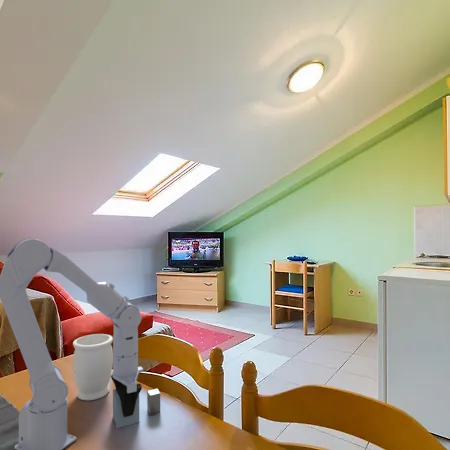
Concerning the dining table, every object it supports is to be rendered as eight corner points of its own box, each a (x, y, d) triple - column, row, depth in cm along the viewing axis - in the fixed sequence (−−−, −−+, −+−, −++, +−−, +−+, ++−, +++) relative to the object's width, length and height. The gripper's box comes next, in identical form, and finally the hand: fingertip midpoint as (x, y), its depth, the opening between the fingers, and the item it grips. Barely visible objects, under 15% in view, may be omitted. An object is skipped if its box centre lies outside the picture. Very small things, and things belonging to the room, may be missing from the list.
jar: (114, 398, 89) (114, 343, 89) (72, 406, 85) (71, 348, 85) (112, 381, 99) (112, 331, 99) (74, 388, 95) (74, 335, 95)
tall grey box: (116, 428, 76) (116, 399, 76) (112, 416, 81) (112, 389, 81) (139, 422, 78) (139, 394, 78) (134, 411, 83) (134, 384, 83)
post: (150, 415, 81) (149, 395, 81) (147, 410, 83) (147, 390, 83) (160, 413, 82) (160, 393, 82) (157, 408, 84) (157, 388, 84)
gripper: (150, 360, 75) (150, 420, 75) (135, 340, 88) (136, 391, 88) (117, 366, 72) (118, 429, 72) (107, 345, 85) (108, 398, 85)
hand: (125, 409), depth 80 cm, fingers closed on tall grey box, 5 cm apart
